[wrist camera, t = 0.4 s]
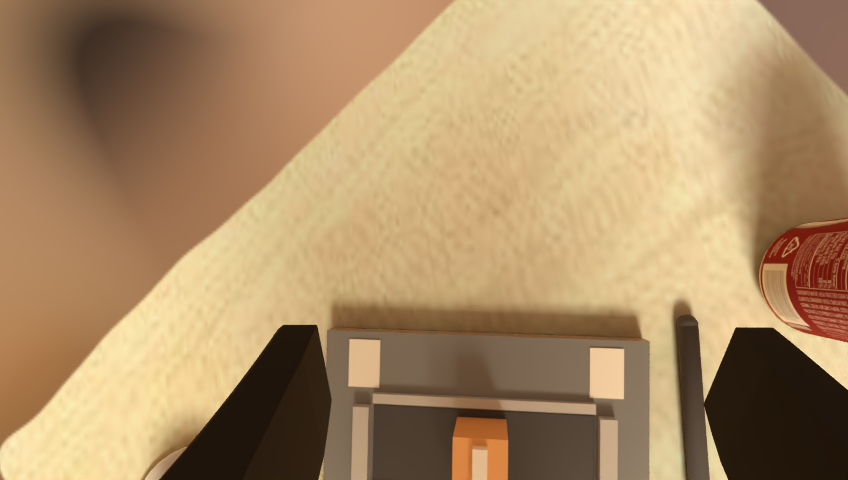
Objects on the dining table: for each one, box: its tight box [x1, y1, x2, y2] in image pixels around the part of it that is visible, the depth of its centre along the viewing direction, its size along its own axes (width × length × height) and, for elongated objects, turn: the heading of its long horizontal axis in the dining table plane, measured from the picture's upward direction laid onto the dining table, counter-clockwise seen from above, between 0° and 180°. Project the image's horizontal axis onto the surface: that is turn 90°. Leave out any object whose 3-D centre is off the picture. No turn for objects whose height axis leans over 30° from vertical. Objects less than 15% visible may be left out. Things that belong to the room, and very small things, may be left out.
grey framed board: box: [324, 327, 649, 480], centre depth 35 cm, size 14×20×2 cm
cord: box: [677, 315, 710, 480], centre depth 34 cm, size 15×1×1 cm, turn 3°
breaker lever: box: [452, 417, 508, 480], centre depth 32 cm, size 4×3×5 cm
